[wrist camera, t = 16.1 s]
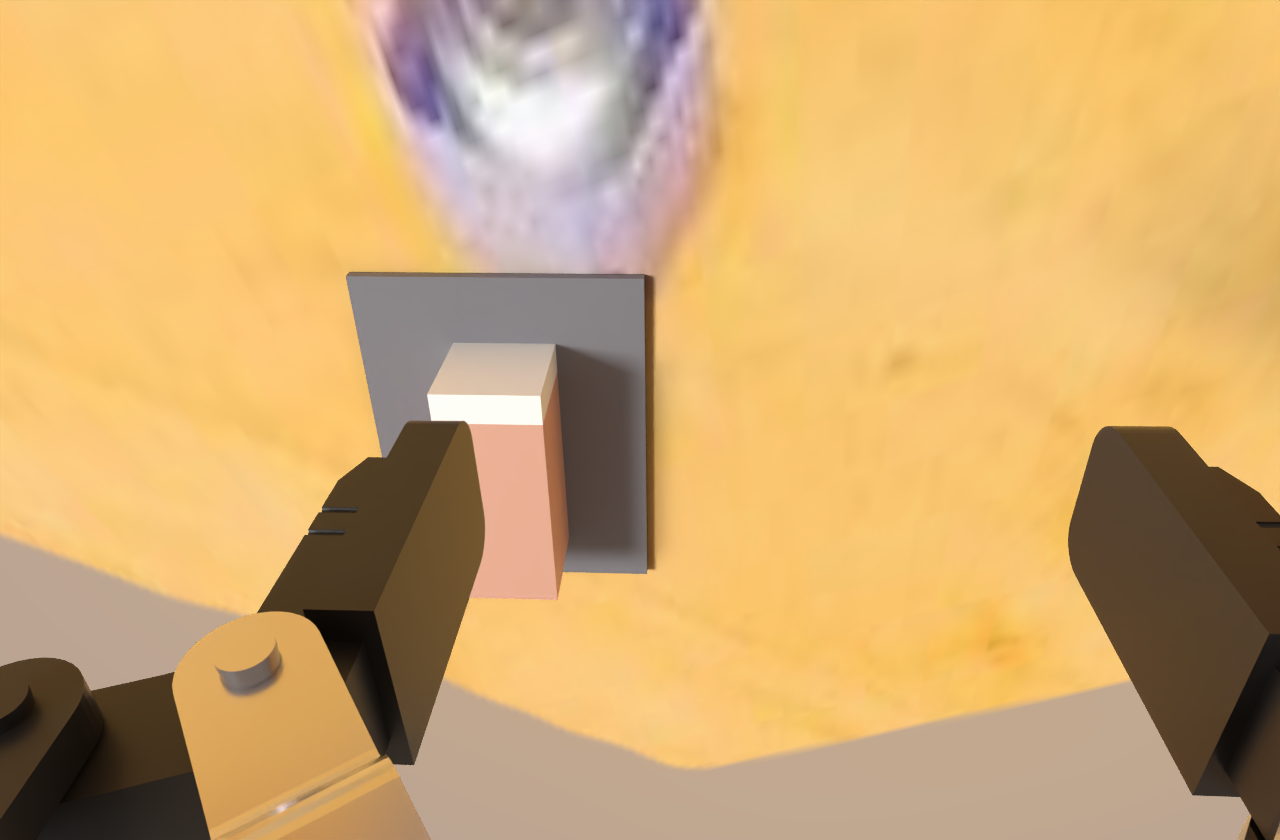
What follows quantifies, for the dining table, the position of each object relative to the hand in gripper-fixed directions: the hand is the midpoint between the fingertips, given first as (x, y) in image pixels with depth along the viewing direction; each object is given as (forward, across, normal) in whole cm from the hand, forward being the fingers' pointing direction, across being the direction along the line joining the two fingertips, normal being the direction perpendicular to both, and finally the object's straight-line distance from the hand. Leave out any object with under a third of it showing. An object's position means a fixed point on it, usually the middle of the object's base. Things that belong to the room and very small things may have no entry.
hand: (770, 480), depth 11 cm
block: (+26, +11, +24) cm, 37 cm away
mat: (+29, +11, +18) cm, 35 cm away
